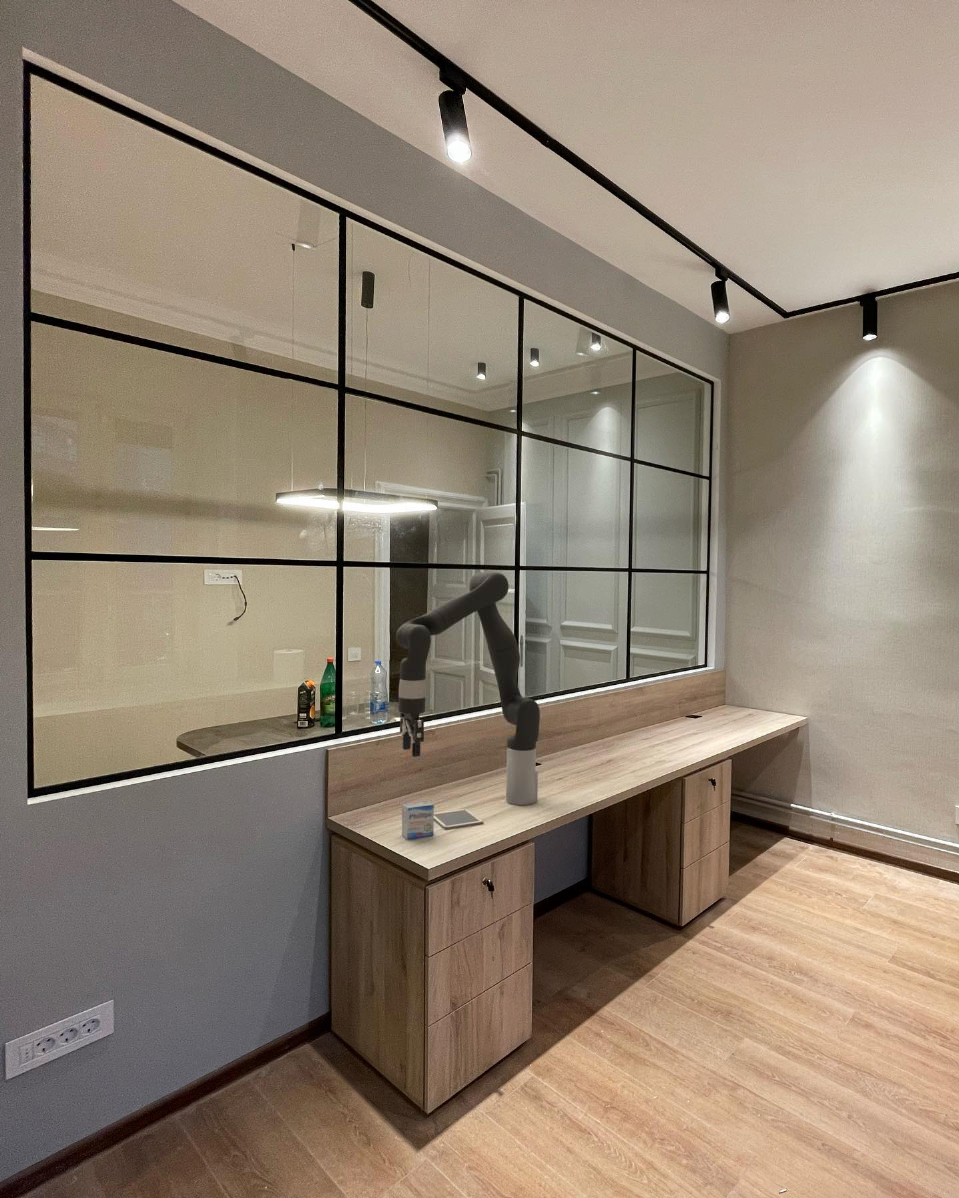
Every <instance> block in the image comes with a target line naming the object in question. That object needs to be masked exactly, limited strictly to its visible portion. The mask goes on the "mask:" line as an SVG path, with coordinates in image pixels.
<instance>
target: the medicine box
mask: <svg viewBox="0 0 959 1198" xmlns="http://www.w3.org/2000/svg"><path fill="white" fill-rule="evenodd" d="M434 813H435V804H433V803H432V802H431V801H429V800H426V801H417V802H408V803H403V804H401V835H402V836H403V837H404V838H405V839H406V840H407V841H408V840H415V839H422V838H426V837H433V836H434V831H435V829H434V827H435V826H434V825H435V824H434V823H435V821H434Z"/></svg>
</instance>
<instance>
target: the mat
mask: <svg viewBox="0 0 959 1198" xmlns="http://www.w3.org/2000/svg"><path fill="white" fill-rule="evenodd" d="M434 822H436V823H437V825H439V827H441V828H442V829H443V830H444V831H445V830H451V829H458V828H465V827H471V826H477V825H483V824H484V821H483V820H482V819H481V818H480V817H478V816H476V815H475V814H474V813H473V812H471V811H470V810H468V808H460V809H455V810H447V811H443V812H442V811H440V812H434Z"/></svg>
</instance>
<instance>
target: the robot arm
mask: <svg viewBox="0 0 959 1198" xmlns="http://www.w3.org/2000/svg"><path fill="white" fill-rule="evenodd" d="M509 587H510V586H509V581H508V578H507V577H506V576H505V575H504V574H503V573H501V572H497V571H483V572H482V571H480V572H476V573H474V574H473V575H472V576H471V578H470V581H469V592H467V593H465V594H463V595H459V596H457V597H454V598H452V599H449V600H447V601H445V602H442V603H441V604H440V605H438V606H436V607H435V608H433V609H431V610H430V611H429V612H427V613H425V614H423V615H420V616H417V617H416V618H413V619H410V620H409V621H406V622H405V623H403V624H402V625H401V626H399V628H398V629H397V631H396V634H395V641H396V643H397V644H398V645H399V646H400V647H402V648H403V649H407V650H408V653H407V655H406V656H407V657H405V658H403V659H401V661H400V665H399V684H398V712H399V714H400V715H399V716H400V717H399V718H400V719H399V721H400V722H399V732H400V733H401V736H402V750H404V751H407V750H411V756H412V757H413V758H415V757H416V758H417V757H421V743H422V742H425V720H424V719H420V714H423V713H425V712H426V701H427V700H426V694H427V693H426V691H427V690H426V689H427V688H426V687H427V686H426V662H427V661H428V655H429V652H430V649H431V642H432V637H431V636H438V635H440V634H442V633H444V632H445V631H446V630H448V629H449V628H451V627H452V626H455V624H457V623H458V622H460V621H462V620H463V619H465V618H466V617H468V616H470V615H471V614H472V615H473V614H474V613H476V612H477V615H478V617H479V618H478V619H479V620H480V624H481V627H482V631H483V634H484V638H485V640H486V644H487V649H488V652H489V653H488V654H489V658H490V661H491V664H492V667H493V671H494V676H495V679H496V683H497V689H498V693H499V698H500V705H501V712H502V715H503V718H504V719H505V720H506V722H507V723H509V724H511V725H514V726H515V734H514V735H511V736H508V738H507V740H506V783H505V785H506V786H505V787H506V788H505V800H506V802H507V803H509V804H511V805H516V806H528V805H532V804H534V803H535V802H538V792H539V787H538V786H539V783H538V782H539V772H538V771H536V765H537V764H536V762H537V761H536V755H537V754H536V753H537V751H536V750H537V749H536V748H537V742H538V739H539V736H540V734H539V733H540V720H541V719H540V718H541V711H540V707H539V703H537V701H536V700H534V699H532V698H528V697H524V696H522V695H521V694H522V693H521V692H520V688H519V683H518V672H519V668H520V663H521V654H520V650H519V645H518V643H517V639H516V636H515V635H514V632H513V631H512V629H511V628H510V626H509V625H508V624H507V623H506V621H505V620H504V619H503V617H502V616H501V614H500V612H499V609H498V606H497V604H496V603H497V602H499V601H502V600H503V599H504V598H505V597H506V596H507V594H508V593H509Z"/></svg>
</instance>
